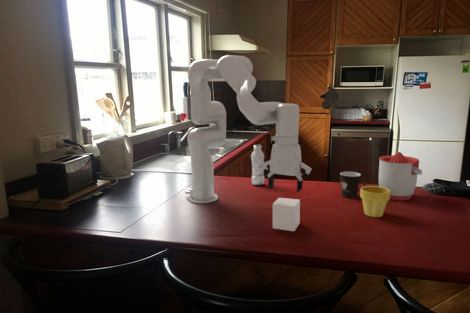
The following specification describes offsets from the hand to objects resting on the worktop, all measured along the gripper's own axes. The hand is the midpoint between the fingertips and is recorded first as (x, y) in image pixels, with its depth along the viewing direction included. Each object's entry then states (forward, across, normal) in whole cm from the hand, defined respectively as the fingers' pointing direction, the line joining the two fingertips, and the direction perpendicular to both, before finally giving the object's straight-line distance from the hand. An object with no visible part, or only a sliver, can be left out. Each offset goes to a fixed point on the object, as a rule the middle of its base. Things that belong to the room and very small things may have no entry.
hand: (285, 189), depth 124 cm
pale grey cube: (+13, +1, 0) cm, 13 cm away
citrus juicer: (+13, +38, +47) cm, 62 cm away
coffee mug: (+13, +19, +41) cm, 47 cm away
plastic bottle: (+15, -26, +47) cm, 56 cm away
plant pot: (+13, +29, +22) cm, 39 cm away
